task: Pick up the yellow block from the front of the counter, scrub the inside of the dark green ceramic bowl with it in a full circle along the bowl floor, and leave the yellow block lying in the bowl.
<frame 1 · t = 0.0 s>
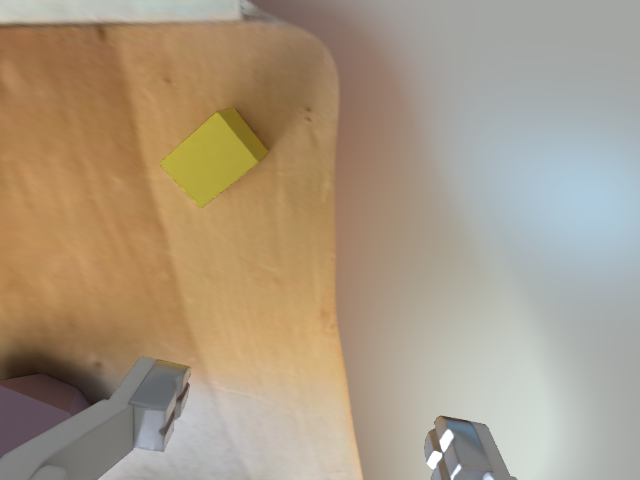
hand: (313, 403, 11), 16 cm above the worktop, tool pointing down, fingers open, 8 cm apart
flask: (52, 404, 35), on the worktop
yellow block: (225, 152, 23), on the worktop
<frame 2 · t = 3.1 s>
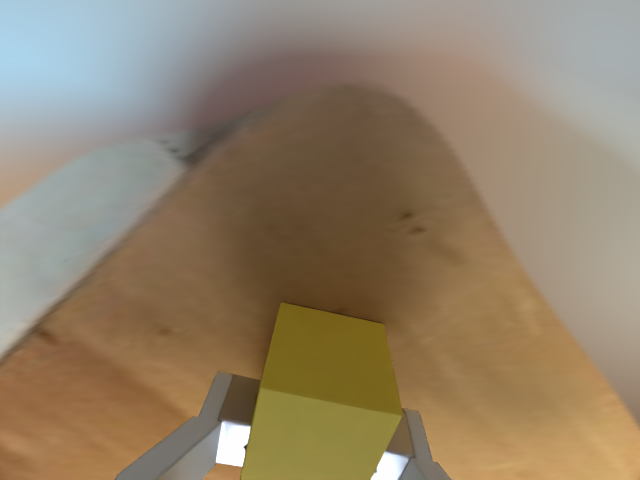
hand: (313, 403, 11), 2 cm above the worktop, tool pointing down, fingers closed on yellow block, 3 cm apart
yellow block: (316, 366, 12), on the worktop, touching gripper
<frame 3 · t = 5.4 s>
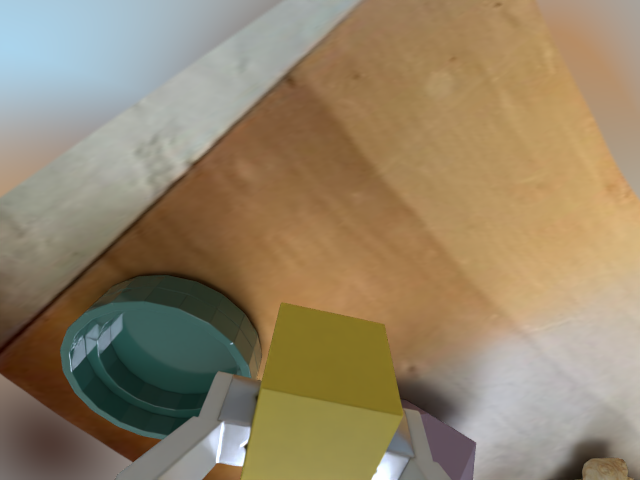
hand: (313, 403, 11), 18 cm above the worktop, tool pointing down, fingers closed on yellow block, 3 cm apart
bowl: (179, 343, 33), on the worktop
flask: (389, 425, 38), on the worktop
yellow block: (317, 366, 12), point 16 cm above the worktop, touching gripper
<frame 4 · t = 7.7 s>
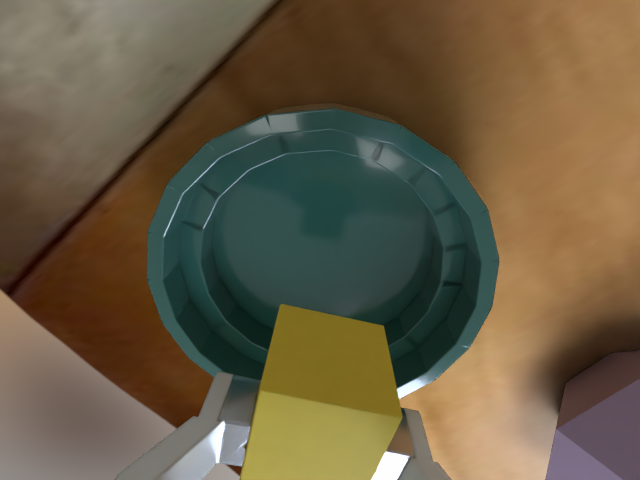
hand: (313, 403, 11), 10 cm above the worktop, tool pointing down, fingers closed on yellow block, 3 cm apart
bowl: (322, 251, 20), on the worktop
flask: (623, 393, 24), on the worktop
yellow block: (316, 367, 12), point 9 cm above the worktop, touching gripper
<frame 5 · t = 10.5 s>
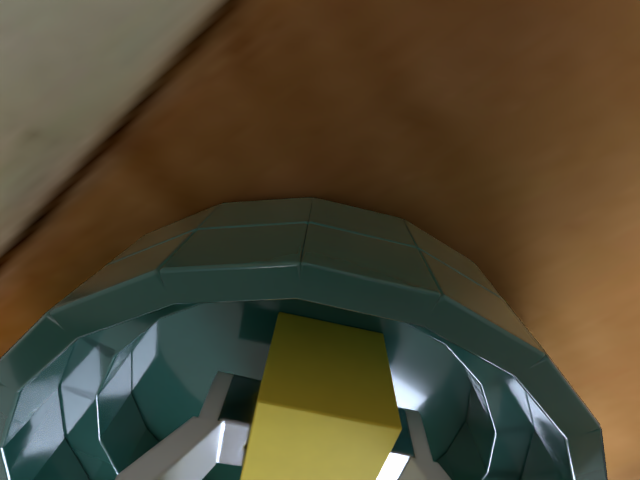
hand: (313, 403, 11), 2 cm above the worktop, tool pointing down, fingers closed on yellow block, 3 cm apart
bowl: (299, 392, 13), on the worktop
yellow block: (315, 375, 12), point 1 cm above the worktop, touching gripper
when the fingers open (2 cm above the worktop, at t = 12.7 s): yellow block stays where it is, resting on bowl.
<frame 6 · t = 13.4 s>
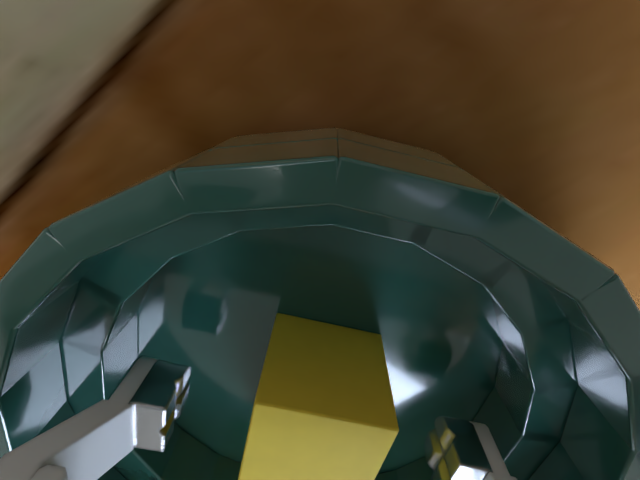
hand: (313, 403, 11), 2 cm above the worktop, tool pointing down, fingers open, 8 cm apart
bowl: (316, 358, 13), on the worktop
yellow block: (313, 376, 12), point 1 cm above the worktop, touching bowl
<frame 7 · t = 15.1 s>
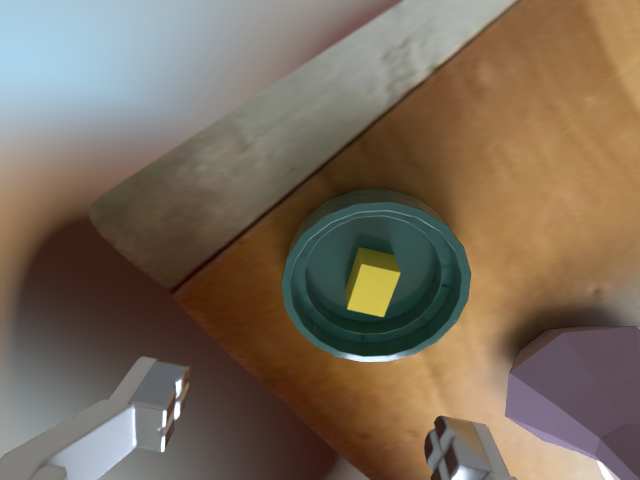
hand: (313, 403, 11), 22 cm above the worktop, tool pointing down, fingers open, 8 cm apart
bowl: (369, 267, 34), on the worktop
flask: (557, 356, 38), on the worktop
milk: (619, 454, 44), on the worktop
yellow block: (369, 272, 34), point 1 cm above the worktop, touching bowl
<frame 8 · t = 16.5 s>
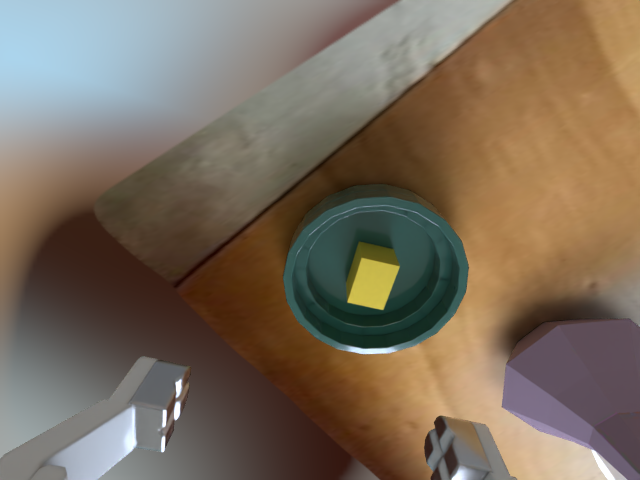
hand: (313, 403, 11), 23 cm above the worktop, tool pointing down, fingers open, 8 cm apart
bowl: (369, 261, 35), on the worktop
flask: (554, 349, 39), on the worktop
milk: (614, 444, 45), on the worktop
yellow block: (369, 266, 34), point 1 cm above the worktop, touching bowl
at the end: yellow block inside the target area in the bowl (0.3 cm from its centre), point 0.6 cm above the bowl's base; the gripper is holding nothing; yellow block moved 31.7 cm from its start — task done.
